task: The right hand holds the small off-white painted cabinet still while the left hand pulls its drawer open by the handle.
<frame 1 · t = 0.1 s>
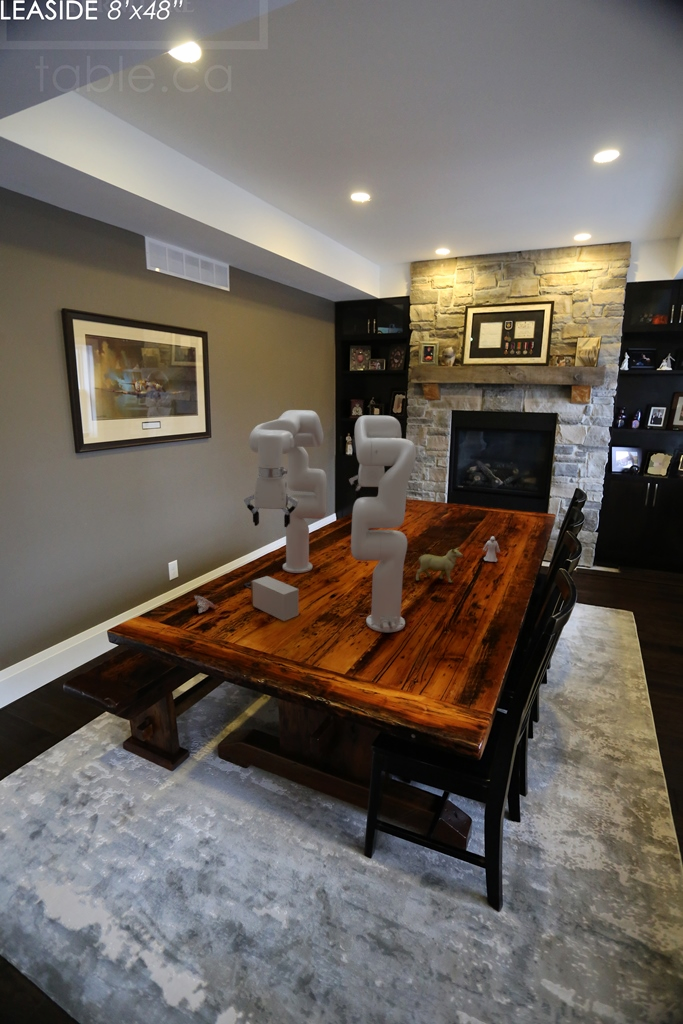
left hand: (271, 525, 160), 31 cm above the table, tool pointing down, fingers open, 9 cm apart
right hand: (370, 500, 199), 31 cm above the table, tool pointing down, fingers open, 9 cm apart
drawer: (265, 593, 173), point 5 cm above the table, slide at 0.5 cm
seashell: (204, 610, 170), on the table
toy: (437, 581, 200), on the table
figurine: (490, 560, 225), on the table
cabinet: (275, 610, 171), on the table
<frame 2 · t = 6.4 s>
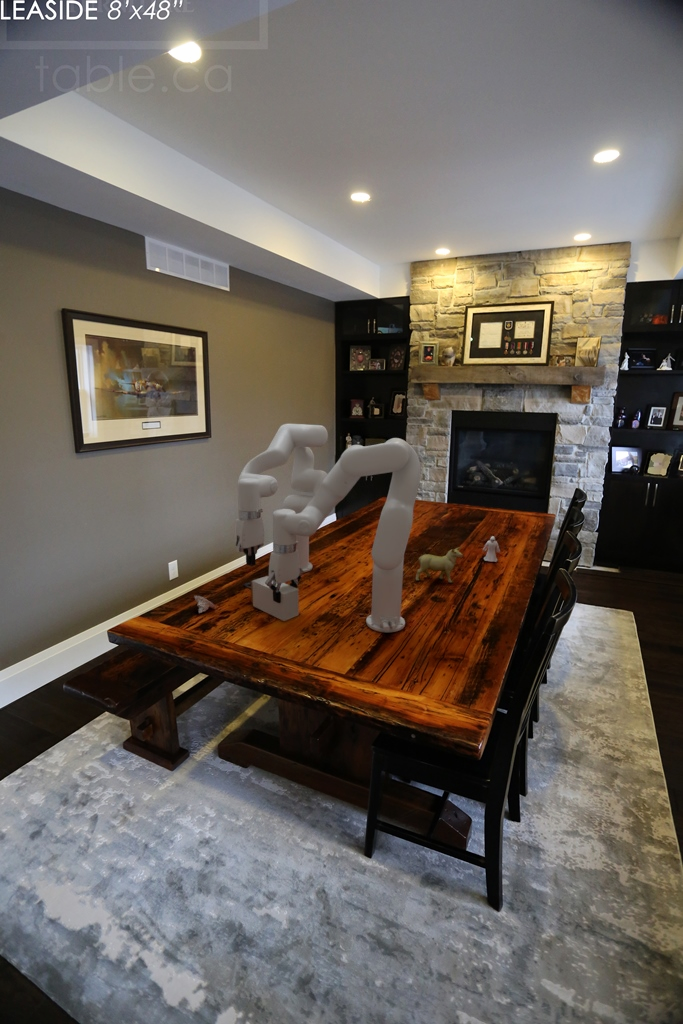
left hand: (250, 564, 176), 13 cm above the table, tool pointing down, fingers closed
right hand: (285, 598, 166), 6 cm above the table, tool pointing down, fingers closed on cabinet, 6 cm apart
cabinet: (275, 610, 171), on the table, touching right hand
everything else where it was.
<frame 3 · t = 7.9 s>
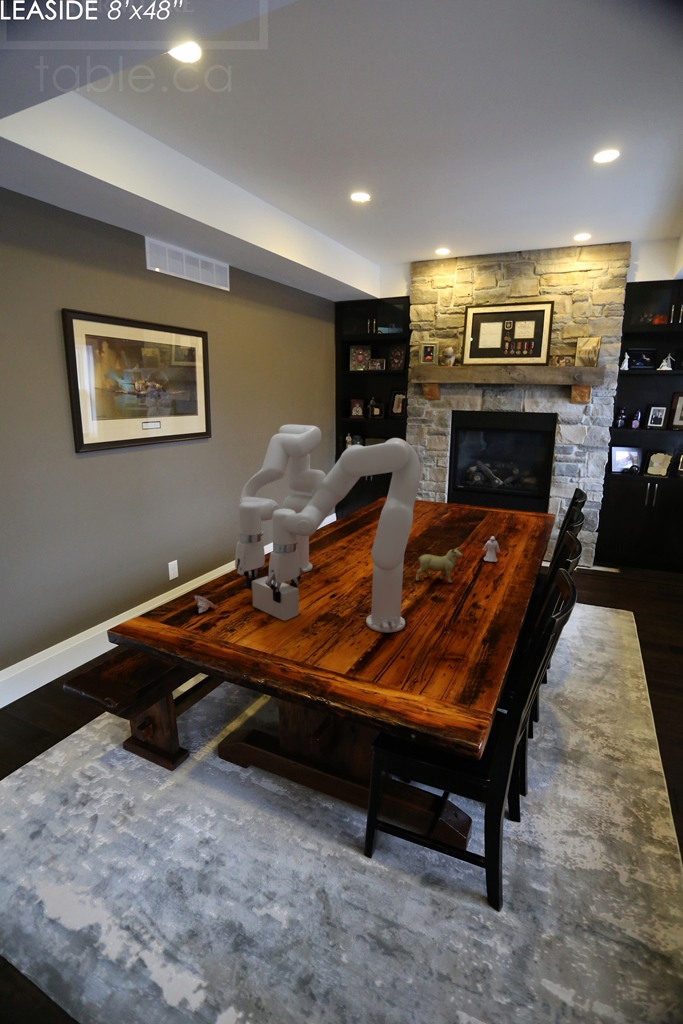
left hand: (251, 587, 177), 5 cm above the table, tool pointing down, fingers closed
right hand: (285, 597, 166), 6 cm above the table, tool pointing down, fingers closed on cabinet, 6 cm apart
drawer: (266, 593, 173), point 5 cm above the table, slide at 0.1 cm, touching left hand
cabinet: (275, 610, 171), on the table, touching right hand
everything else where it was.
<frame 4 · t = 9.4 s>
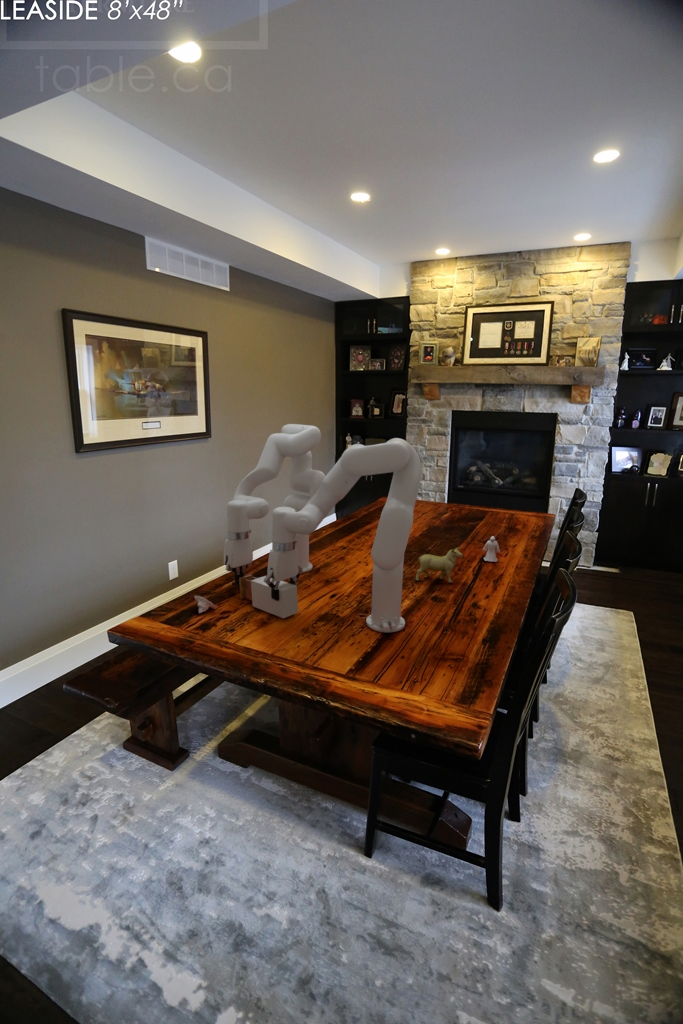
left hand: (239, 583, 182), 5 cm above the table, tool pointing down, fingers closed
right hand: (283, 596, 166), 7 cm above the table, tool pointing down, fingers closed on cabinet, 6 cm apart
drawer: (253, 589, 177), point 4 cm above the table, slide at 6.6 cm, touching left hand
cabinet: (274, 609, 171), point 1 cm above the table, touching right hand
everything else where it was.
when the right hand's fingers open (7 cm above the table, at t = 10.9 s): cabinet stays where it is, on the table.
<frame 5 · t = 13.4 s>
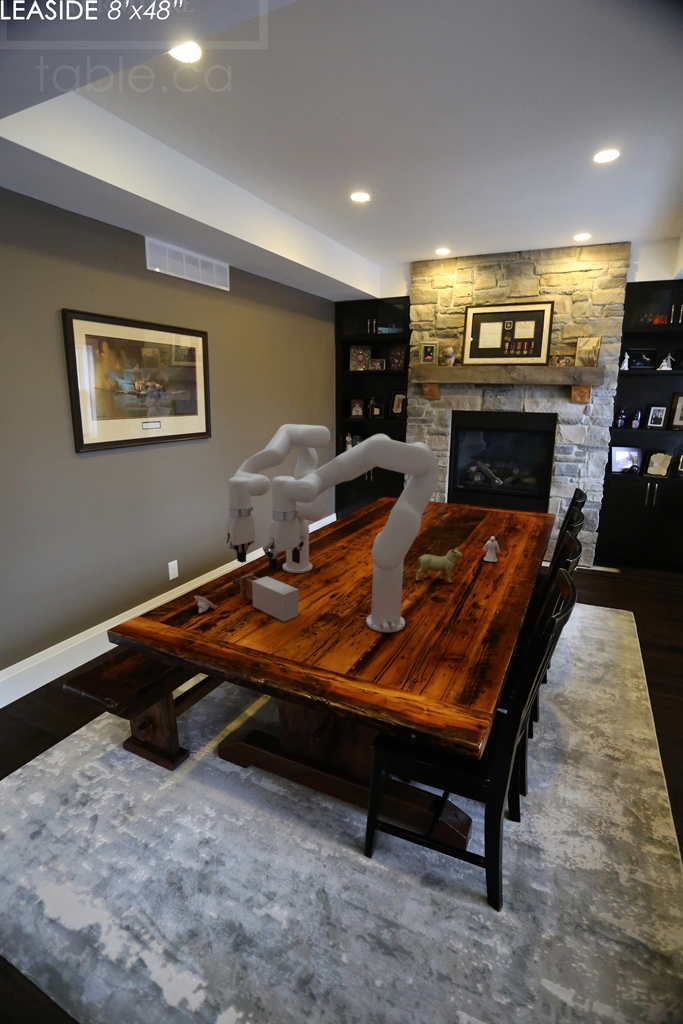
left hand: (241, 561, 180), 13 cm above the table, tool pointing down, fingers closed
right hand: (284, 565, 163), 18 cm above the table, tool pointing down, fingers open, 9 cm apart
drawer: (254, 588, 177), point 5 cm above the table, slide at 6.6 cm
cabinet: (275, 610, 171), on the table
everything else where it was.
at the end: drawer slide at 6.6 cm; cabinet tilted 0°; cabinet never tilted more than 5° during the clip; cabinet moved 0.3 cm from its start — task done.
